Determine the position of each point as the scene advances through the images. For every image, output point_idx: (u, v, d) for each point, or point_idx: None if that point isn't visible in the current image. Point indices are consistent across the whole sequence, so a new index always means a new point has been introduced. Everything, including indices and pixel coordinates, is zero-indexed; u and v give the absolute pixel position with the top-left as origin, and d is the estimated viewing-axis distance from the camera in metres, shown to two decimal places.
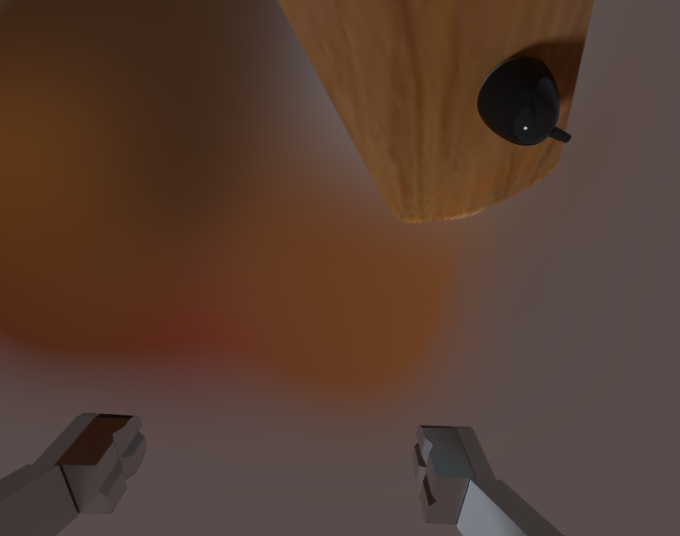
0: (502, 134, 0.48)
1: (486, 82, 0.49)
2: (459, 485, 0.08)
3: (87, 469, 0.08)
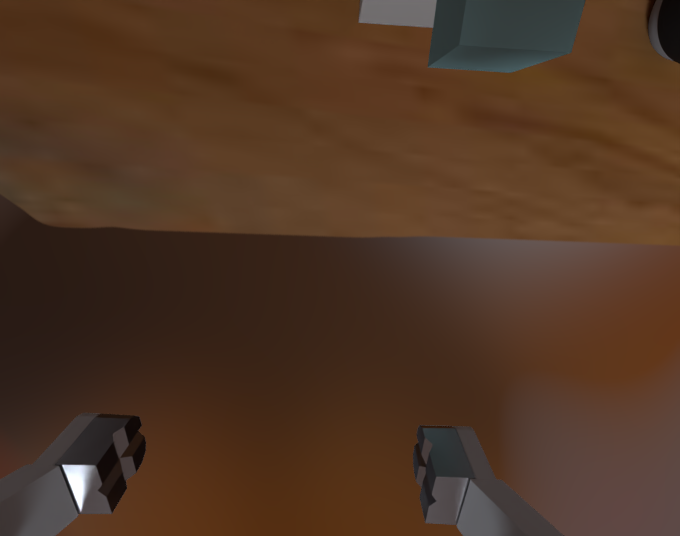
0: None
1: (665, 42, 0.34)
2: (459, 485, 0.08)
3: (87, 469, 0.08)
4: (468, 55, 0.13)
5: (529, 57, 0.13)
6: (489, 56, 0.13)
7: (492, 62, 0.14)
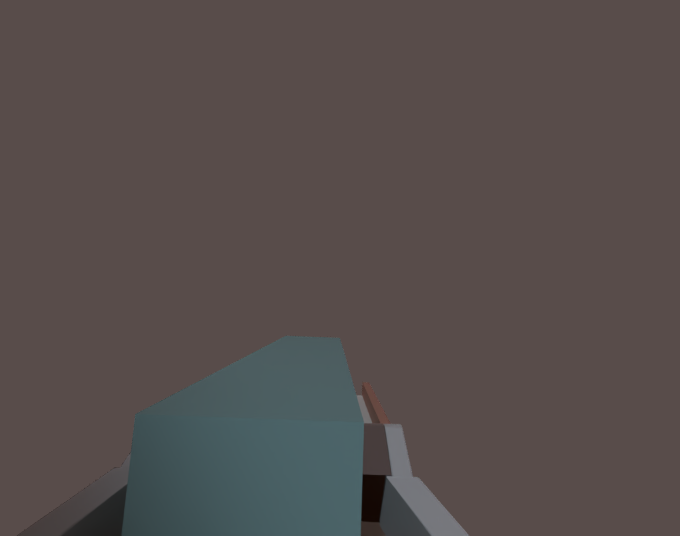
0: None
1: None
2: (377, 482, 0.08)
3: None
4: (176, 505, 0.06)
5: (311, 492, 0.06)
6: (225, 505, 0.06)
7: None
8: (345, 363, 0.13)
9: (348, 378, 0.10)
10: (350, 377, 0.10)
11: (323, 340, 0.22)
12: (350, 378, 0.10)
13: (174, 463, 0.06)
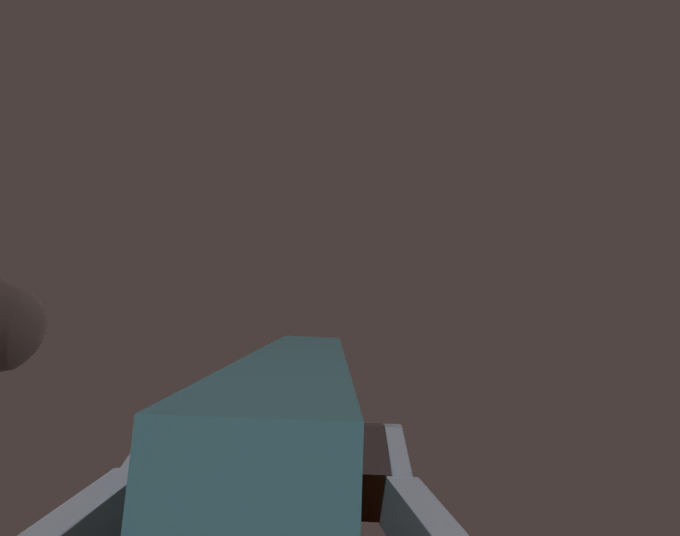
0: None
1: None
2: (377, 482, 0.08)
3: None
4: (175, 505, 0.06)
5: (311, 492, 0.06)
6: (224, 505, 0.06)
7: None
8: (345, 363, 0.13)
9: (348, 378, 0.10)
10: (350, 377, 0.10)
11: (322, 340, 0.22)
12: (350, 378, 0.10)
13: (173, 463, 0.06)
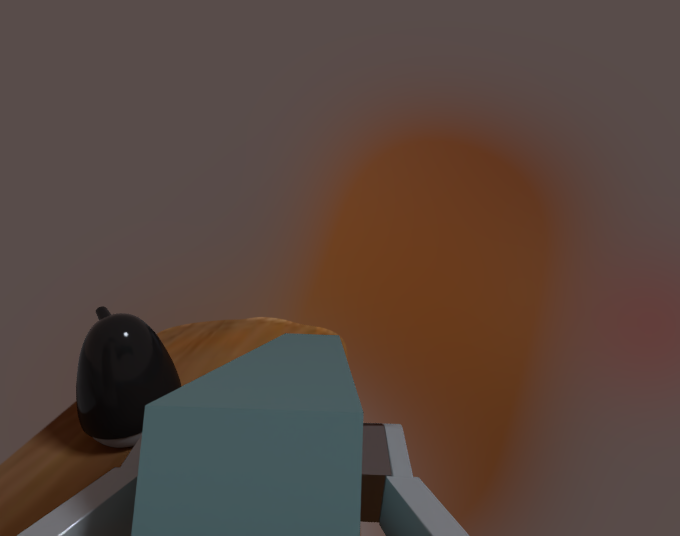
0: (157, 345, 0.37)
1: None
2: (377, 482, 0.08)
3: None
4: (184, 491, 0.06)
5: (313, 478, 0.06)
6: (231, 491, 0.06)
7: None
8: (344, 359, 0.13)
9: (348, 373, 0.10)
10: (349, 372, 0.10)
11: (323, 337, 0.22)
12: (349, 373, 0.10)
13: (182, 452, 0.06)
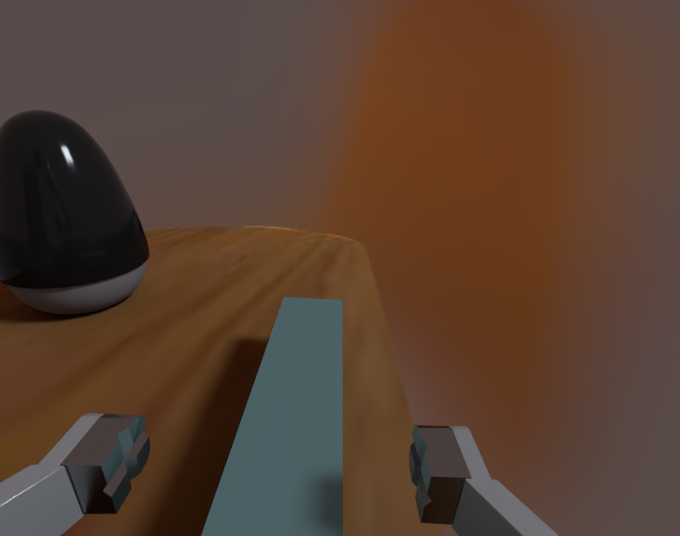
0: (109, 167, 0.26)
1: (88, 274, 0.24)
2: (454, 485, 0.08)
3: (93, 468, 0.08)
4: None
5: None
6: None
7: None
8: (340, 466, 0.12)
9: None
10: None
11: (323, 319, 0.20)
12: None
13: None
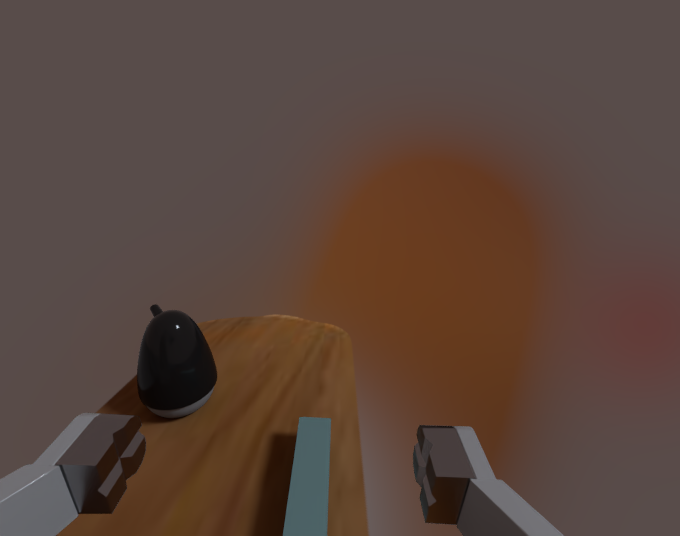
0: (200, 335, 0.46)
1: (192, 400, 0.45)
2: (459, 485, 0.08)
3: (87, 469, 0.08)
4: None
5: None
6: None
7: None
8: (326, 521, 0.32)
9: None
10: None
11: (320, 435, 0.40)
12: None
13: None
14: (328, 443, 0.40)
